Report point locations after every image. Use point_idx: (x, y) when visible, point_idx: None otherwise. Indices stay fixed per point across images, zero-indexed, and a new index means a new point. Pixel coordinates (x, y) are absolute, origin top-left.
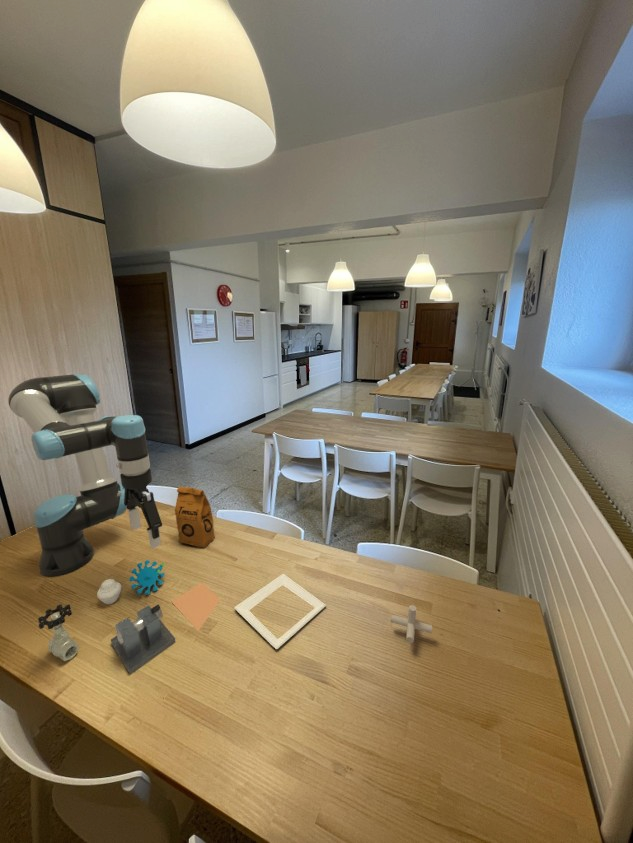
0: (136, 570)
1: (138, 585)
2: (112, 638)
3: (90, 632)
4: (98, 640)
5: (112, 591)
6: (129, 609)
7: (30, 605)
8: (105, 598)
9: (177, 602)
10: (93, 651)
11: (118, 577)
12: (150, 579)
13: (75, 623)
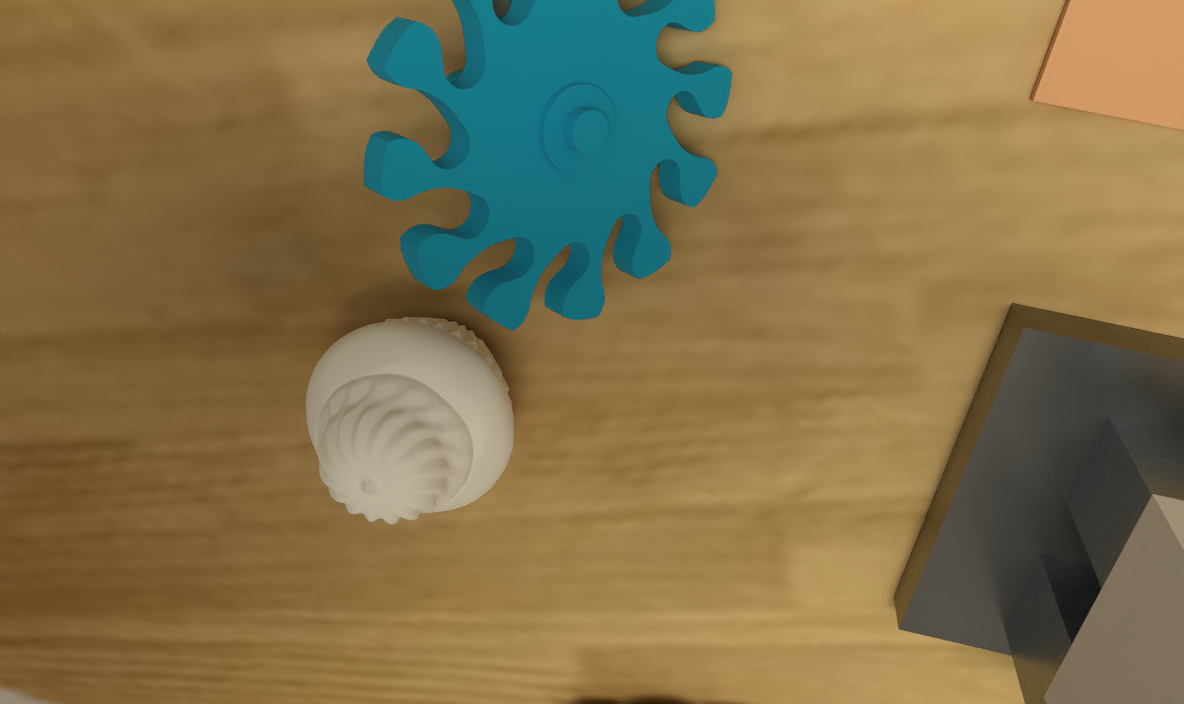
0: (453, 237)
1: (602, 256)
2: (904, 619)
3: (643, 595)
4: (768, 610)
5: (483, 455)
6: (695, 353)
7: (40, 620)
8: (487, 490)
9: (1119, 75)
10: (827, 665)
11: (179, 161)
12: (616, 110)
13: (463, 592)
